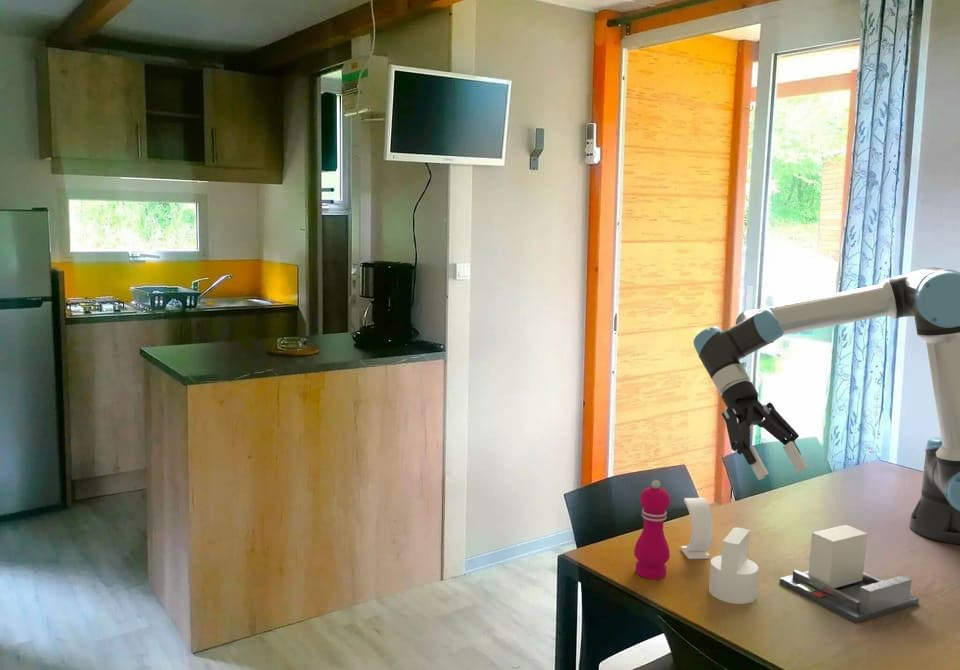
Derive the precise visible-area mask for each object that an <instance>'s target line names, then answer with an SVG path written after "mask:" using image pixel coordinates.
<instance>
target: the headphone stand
mask: <svg viewBox="0 0 960 670" xmlns="http://www.w3.org/2000/svg"><path fill="white" fill-rule="evenodd" d="M683 502H684V503H685V505H686V508H687V510H688V513H689V519H690V538H689V543H688V545H681V546H680V551H681V552H682V553H683V554H684V555H685V556H686V557H687V559H688V560H697V559H698V560H700V559H701V560H704V559H710V554H709V553H708V551H709V549H710V548H711V545H712V543H713V536H714V535H713V534H714V523H713V516H712V512H711V508H710V506H709V505H710V504H709V503H708V501H707V499H706V498H705V497H684V499H683Z"/></svg>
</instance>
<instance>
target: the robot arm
mask: <svg viewBox="0 0 960 670" xmlns="http://www.w3.org/2000/svg"><path fill="white" fill-rule="evenodd" d="M887 316H888V317H889V318H892V319H898V318H899V319H900V318H904V317H905V318H906V317H907V318H908V317H909V318H910V317H914V323H915V328H916V335H917V336H918V337H919V338H921V339H922V340H924V341H925V342H926V343H925V344H926V349H927V354H928V355H927V356H928V362H929V368H930V374H931V375H930V376H931V381H932V388H933V393H934V400H935V401H934V402H935V406H936V413H937V419H938V427H939V432H940V433H939V434H940V436H939V437H937V436H936V437H930V438H929V439H928V440H927V442H926V448H925V450H924V453H925V456H924V464H923V475H922V481H921V483H922V485H921V492H920V498H919V500H918V501H917V504H916V505H915V506H914V509H913V511H912V513H911V515H910V519H909V528H910V529H911V530H912V531H913V532H914V533H916V534H918V535H919V536H923V537H924V538H928V539H931V540H934V541H938V542H942V543H946V544H947V543H948V544H954V545H955V544H956V545H960V272H959V271H957V270H953V269H943V268H940V267H926V268H921V269H918V270H914V271H912V272H908V273H904V274H901V275H896V276H893V277H892V276H891V277H888V278H884V279H883V280H882V281H881V283H880V284H876V285H872V286H871V285H870V286H865V287H861V288H856V289H850V290H846V291H841V292H836V293H831V294H825V295H820V296H816V297H812V298H807V299H802V300H797V301H792V302H787V303H782V304H777V305H773V306H768V307H763V308H749V309H746V310H744V311H742V312H741V313H740V314H739V315H738V316H737V318H736V321H735V324H734V325H733V326H732V327H730V328H727V329H725V330H723V329H721V328H720V327H718V326H711V327H709V328H705V329H704V330H702V331H700V332H699V333H698V334H697V335H696V336H695V337H694V338H693V346H694V349H695V351H696V353H697V356H698V358H699V359H700V361H701V362H702V365H703V366H704V369H705V370H706V371H707V373H708V375H709V377H710V378H711V380H712V382H713V384H714V386H715V388H716V390H717V392H718V393H719V395H721V400H722V402H723V403H724V405H725V407H726V408H725V410H724V411H722V412H721V415H722V419H723V420H724V421H725V426H726V429H727V434H728V438H729V444H730V449H731V450H732V451H733V452H736V453H737V454H738V455H740V456H741V455H743V457H744V459H745V461H746V462H747V464H748V465H749V466H750V467H751V469H752V471H753V473H754V474H755V476H756V478H757V480H758V481H760V480H763V479H764V478H765V477H766V476H768V475H770V474H769V471H768V470H767V468H766V466H765V464H764V462H763V460H762V459H761V457H760V455H759V453H758V451H757V450H756V448H755V446H751V426H758V427H759V428H763V429H764V430H766V431H767V432H768V433H769V434H770V435H772V436H773V437H774V438H775V439H777V440H778V441H779V442H780V443H782V444H783V446H782V448H783V450H784V452H785V454H786V456H787V458H788V459H789V461H790V463H791V465H792V466H793V469H795V472H796V473H797V474H800V473H802V472H803V471H804V470H806V469H807V468H808V465H807V464H806V461H805V460H804V458H803V456H802V454H801V450H800V449H799V448H798V446H797V444H796V442H795V441H796V440H797V439H798V438H799V437H800V435H799V434H798V432H796V430H795V429H794V428H793V427H792V426H791V425H790V424H789V423H788V421H786V420H785V418H784V417H783V416H782V415H781V414H780V413H779V412H778V410H776V408H775V406H774V404H773V403H772V402H767V403H766V404H762V403H761V402H760V401H759V393H758V391H757V389H756V387H755V385H754V383H752V382H751V378H750V377H749V375H748V373H747V372H746V370H745V368H744V367H743V365H742V363H741V362H740V360H741V359H744V358H745V357H748V356H749V355H751V354H752V353H754V352H756V351H758V350H760V349H762V348H764V347H766V346H767V345H770V344H773V343H774V342H775V341H777V340H778V339H780V338H781V337H783V336H785V335H791V334H796V333H802V332H806V331H807V332H808V331H813V330H818V329H823V328H829V327H834V326H839V325H844V324H851V323H855V322H860V321H864V320H865V321H866V320H870V319H877V318H881V317H887Z"/></svg>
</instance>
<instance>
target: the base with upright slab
mask: <svg viewBox="0 0 960 670" xmlns="http://www.w3.org/2000/svg"><path fill="white" fill-rule="evenodd" d="M750 532H751V531H750V529H746V528H743V527H737V526H735V527H733V528H732V529H731V531H730V532H729V533H728V534H727V535H726V536H725V538H724V539H723V540H722V548H721V549H722V550H721V555H720V554H719V555H715V556H713V557H712V558H711V560H710V567H709V579H708V580H709V581H708V592H709V594H710V595H711V596H712V597H714V598H715V599H718V600H720V601H722V602H725V603H728V604H729V603H730V604H735V605H736V604H737V605H739V604H740V605H745V604H750V603H754V601H755V600H756V599H757V591H758V578H759V577H758V576H759V566H758V564H757V563H755V561H754V560H750V559H748V558H749V557H748V556H749V544H750Z"/></svg>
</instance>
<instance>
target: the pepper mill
mask: <svg viewBox="0 0 960 670" xmlns="http://www.w3.org/2000/svg"><path fill="white" fill-rule="evenodd" d="M639 498H640V499H639V501H640V502H639V503H640V505H641V506H642V509H641V512H642V513H641V517H642V518H643V528H642V531H641V533H640V535H639V537H638V538H637V541H636V542H635V543H636V544H635V546H634V550H633V553H634V556H635V558H636V560H637V561H636V563H635V573H636V574H637V576H639V577H641V578H645V579H647V580H661V579H663V578H665V577H666V575H667V565H666V563H667V562H668V561H669V559H670V557H671V556H670V555H671V554H670V546H669V544H668V542H667V539H666V536H665V533H664V523H665V520H667V518H668V517H667V514H668V513H667V509H668V508H669V507H670V503H671V497H670V495H669V493H668V492H667V491H666V489H664V488H662V487H661V482H660V481H659V480H653V481H651V486H648V487H647V488H645V489H644V490H642V492H641V494H640V497H639Z"/></svg>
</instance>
